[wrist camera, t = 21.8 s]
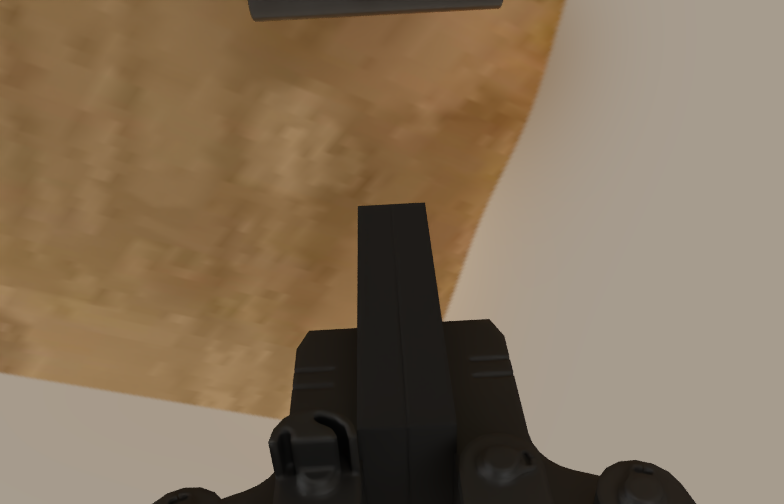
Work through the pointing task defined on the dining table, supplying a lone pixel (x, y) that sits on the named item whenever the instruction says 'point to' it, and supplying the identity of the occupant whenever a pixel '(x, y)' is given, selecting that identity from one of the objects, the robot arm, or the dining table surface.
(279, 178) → the dining table surface
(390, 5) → the drawer
